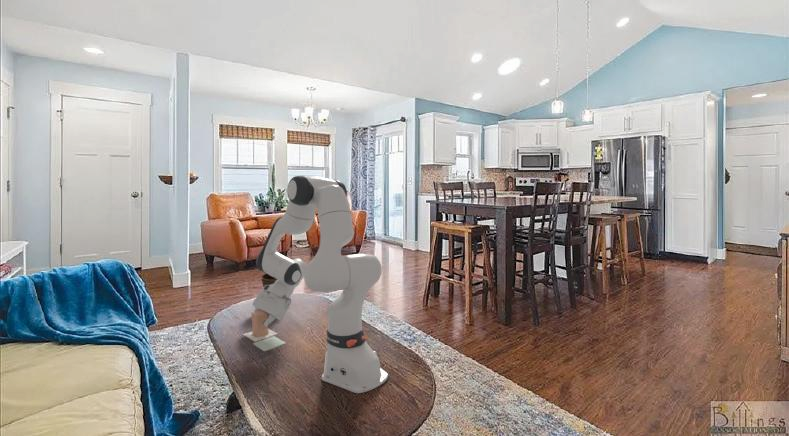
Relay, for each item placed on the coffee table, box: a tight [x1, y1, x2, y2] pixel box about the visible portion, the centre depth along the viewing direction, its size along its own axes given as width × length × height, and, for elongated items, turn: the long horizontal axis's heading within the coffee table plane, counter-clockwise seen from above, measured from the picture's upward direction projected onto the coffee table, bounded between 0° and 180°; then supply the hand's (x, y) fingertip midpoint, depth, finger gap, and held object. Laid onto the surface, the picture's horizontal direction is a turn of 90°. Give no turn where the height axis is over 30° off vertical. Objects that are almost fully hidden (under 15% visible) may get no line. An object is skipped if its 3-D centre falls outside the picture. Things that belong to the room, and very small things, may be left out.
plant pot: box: [261, 273, 278, 288], centre depth 188 cm, size 15×15×16 cm
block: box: [251, 310, 269, 337], centre depth 156 cm, size 4×4×9 cm
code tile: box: [242, 328, 278, 343], centre depth 157 cm, size 10×10×1 cm
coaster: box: [252, 335, 287, 352], centre depth 148 cm, size 9×9×1 cm
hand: (258, 322), depth 156 cm, fingers open, 8 cm apart
